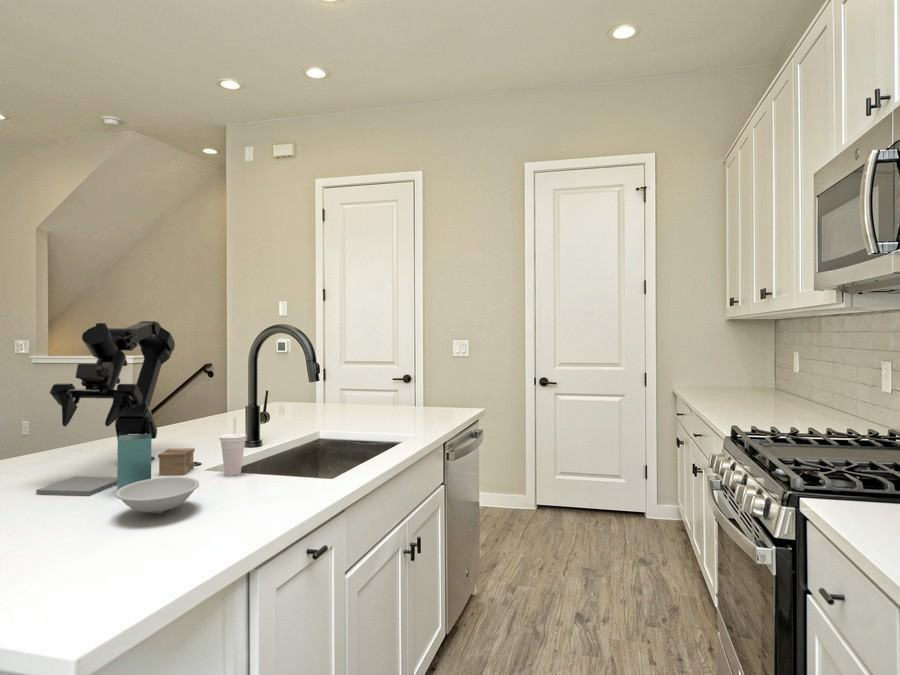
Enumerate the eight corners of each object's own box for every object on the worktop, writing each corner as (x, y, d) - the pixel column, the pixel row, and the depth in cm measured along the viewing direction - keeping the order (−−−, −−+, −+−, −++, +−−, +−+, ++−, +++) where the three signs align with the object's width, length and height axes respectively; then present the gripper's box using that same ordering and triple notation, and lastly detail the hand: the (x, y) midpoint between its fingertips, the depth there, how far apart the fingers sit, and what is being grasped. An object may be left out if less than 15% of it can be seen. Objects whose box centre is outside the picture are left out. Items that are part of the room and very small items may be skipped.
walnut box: (168, 468, 153) (168, 448, 153) (194, 468, 154) (194, 448, 154) (157, 475, 146) (158, 454, 146) (185, 475, 147) (185, 454, 147)
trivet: (74, 480, 140) (74, 476, 140) (123, 482, 139) (123, 477, 139) (36, 494, 128) (36, 489, 128) (89, 495, 127) (89, 491, 127)
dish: (137, 501, 124) (137, 477, 124) (209, 499, 126) (209, 475, 126) (99, 528, 106) (99, 501, 106) (183, 525, 108) (183, 498, 108)
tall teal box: (118, 488, 133) (119, 435, 133) (151, 485, 136) (151, 433, 136) (117, 495, 128) (117, 440, 127) (151, 492, 130) (151, 438, 130)
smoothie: (251, 472, 150) (252, 417, 149) (232, 478, 144) (233, 420, 144) (232, 470, 152) (233, 415, 152) (213, 475, 146) (213, 419, 146)
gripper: (52, 349, 137) (24, 406, 128) (136, 350, 139) (115, 406, 129) (72, 377, 146) (48, 432, 136) (151, 377, 148) (132, 432, 138)
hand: (85, 425), depth 135 cm, fingers open, 9 cm apart
